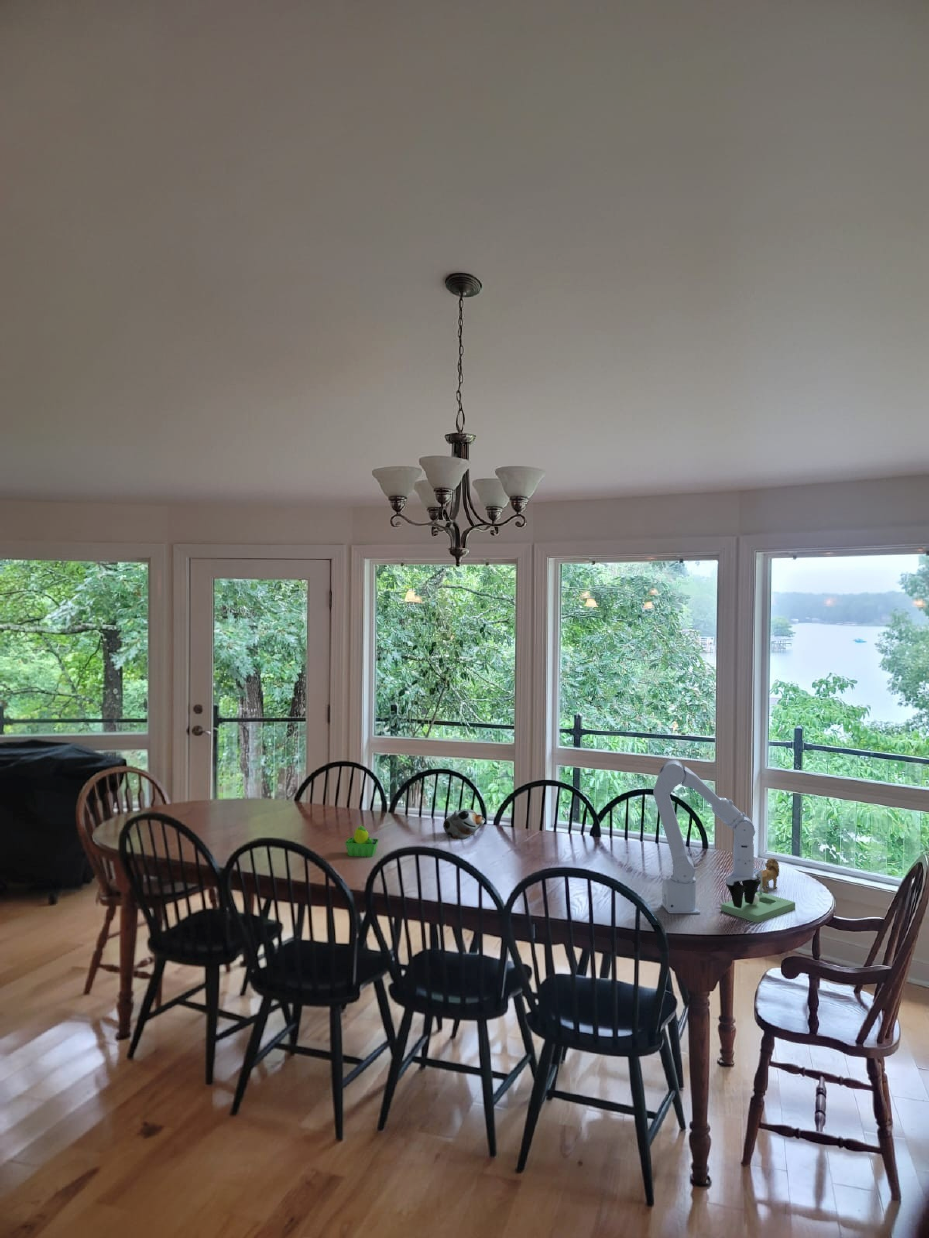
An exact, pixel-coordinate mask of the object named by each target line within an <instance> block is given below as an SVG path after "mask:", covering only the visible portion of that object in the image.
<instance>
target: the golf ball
mask: <svg viewBox="0 0 929 1238" xmlns="http://www.w3.org/2000/svg"><path fill="white" fill-rule="evenodd" d="M758 903H759V897H758V895H756V894H755V897H754V901H753V904H750V905H757V904H758Z"/></svg>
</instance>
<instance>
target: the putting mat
mask: <svg viewBox="0 0 929 1238" xmlns="http://www.w3.org/2000/svg"><path fill="white" fill-rule="evenodd" d="M762 870H763V871H761V877H760V880H761V883H760V885H759V890H758V892H756V893H755V894H756V895H758V897H759V903H758V904H757V905H750V904H749V903H746V902H745V898H744V896H743V899H742V907H741V908H737V907H734V904H733V900H729V901H726V902H723V903H721V905H720V910H721V912H724V913H727V914H730V915H733V916H736V917H739V918H742V919H745V920H746V921H747V920H748V921H751V922H753V923H757V924H758V923H761V922H764V921H766V920H769V919H772V918H775V917H777V916H781V915H783V914H785V913H788V912H791V911H794V910H796V902H795V901H792V900H789V899H785V898H782V897H779V896H777V895H776V896H775V895H772V894H769V893H767V892H764V891H763V889H762V877H765V876H767V869H766V868H765V869H762Z"/></svg>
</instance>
